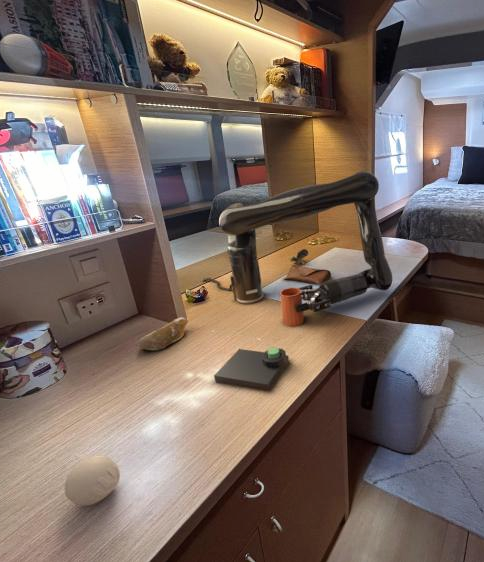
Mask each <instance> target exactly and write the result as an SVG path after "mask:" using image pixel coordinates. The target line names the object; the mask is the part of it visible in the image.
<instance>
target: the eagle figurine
mask: <svg viewBox="0 0 484 562" xmlns="http://www.w3.org/2000/svg"><path fill="white" fill-rule="evenodd" d="M308 255H309V251H308V249H304V248H303V249H301V250H299V251H298V252H297V254H296V256H294V255H293V256H291V257H290V258H289V262H290V263H293V265H295V266H299V267H300V264H302V265H304V266H305V265H306V264H305V261H304V258H306V257H308Z"/></svg>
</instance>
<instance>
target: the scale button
mask: <svg viewBox="0 0 484 562" xmlns="http://www.w3.org/2000/svg"><path fill="white" fill-rule="evenodd" d="M278 348H279V347H271V348H269V349H267V350H268V358H269V359H276V358H278V357H279V356H280V353H279V349H278Z"/></svg>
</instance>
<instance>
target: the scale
mask: <svg viewBox="0 0 484 562" xmlns="http://www.w3.org/2000/svg"><path fill="white" fill-rule="evenodd" d="M277 348H278V349H279V353H280V356H279V357H278V358H276V359H269V358H268V350H269V349H267V350H265V351H257V350H250V349H243V348H238V350H237V351H236V352H235V353H234V354H233V355H232V356H231V357H230V358H229V359H228V360H226V362H225V363H224V365H222V367H221V368H220V369H218V371H217V372H216V373H215V374H214V375H213V377H214V382H215V383H220V384H227V385H233V386H239V387H245V388H251V389H254V390H255V389H256V390H261V391H268V392H269V391H270V390H271V389H272V387H273V386H274V385H275V383H276V381H277V380H278V378H279V377H280V376H281V374H282V373H283V371H284V369H286V367H287V365H288V364H289V362H290V361H289V355H287V354H286V351H285V349H283V348H279V347H277Z"/></svg>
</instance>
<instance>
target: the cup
mask: <svg viewBox="0 0 484 562" xmlns="http://www.w3.org/2000/svg"><path fill="white" fill-rule="evenodd" d="M299 288H300V287H287V288H284V289H282V290H281V291H280V292H279V297H280V305H281V313H282V320H283V324H284V325H285V326H288V327H296V326H297V327H298V326H299V325H302V324H303V323H304V321H305V317H304V311H303V312H299V313H297V312H296V309H295V306H296V305H299V304H303V299H302V296H303V295H302V296H301V291H302V290H300V289H299Z"/></svg>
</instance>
